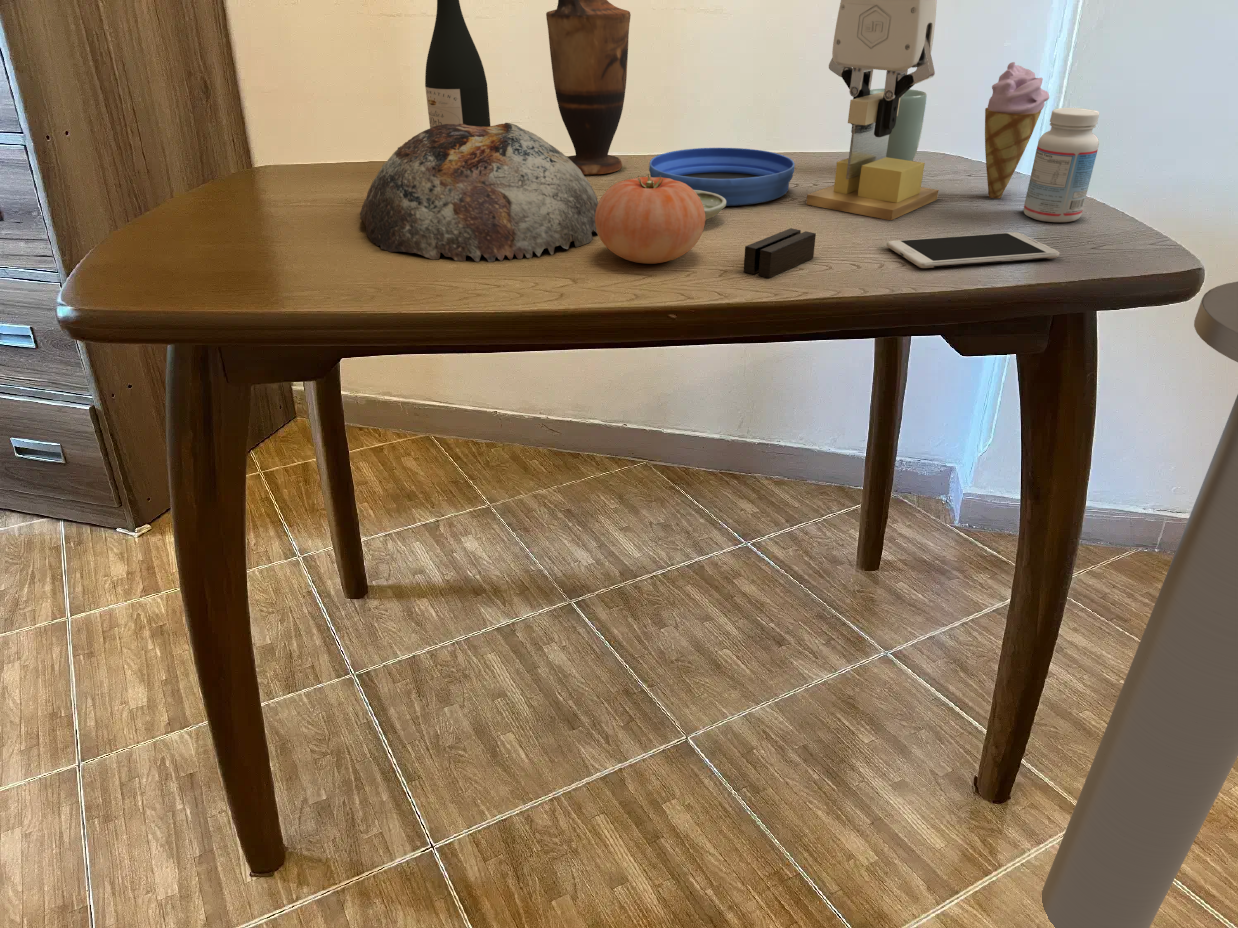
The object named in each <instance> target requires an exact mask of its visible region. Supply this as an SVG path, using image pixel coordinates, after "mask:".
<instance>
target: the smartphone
mask: <svg viewBox="0 0 1238 928" xmlns="http://www.w3.org/2000/svg"><path fill="white" fill-rule="evenodd" d="M886 247H887V248H889V249H890V250H891V251H894V252H895V253H896V254H898V255H899V256H901V257H903V258H904V259H906V260H907V261H909V262H911V263H912V264H914V265H916V267H918V268H920V269H933V268H946V267H959V266H960V267H961V266H971V265H986V264H998V263H1000V264H1001V263H1011V262H1012V263H1013V262H1023V261H1024V262H1025V261H1037V260H1038V261H1039V260H1050V259H1051V260H1052V259H1057V258H1058V257H1059V256H1060V252H1059V250H1056V249H1055V248H1052V247H1050V246H1048V245H1046V244H1044V243H1042V242H1039V241H1038V240H1035V239H1033V238H1031V237H1029V236H1027V235H1025V234H1023V233H1021V232H1016V231H1013V232H1010V231H1009V232H998V233H985V234H984V233H983V234H970V235H969V234H968V235H956V236H944V237H943V236H940V237H926V238H913V239H911V238H910V239H899V240H898V239H897V240H889V241H887V243H886Z"/></svg>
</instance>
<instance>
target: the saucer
mask: <svg viewBox="0 0 1238 928" xmlns="http://www.w3.org/2000/svg"><path fill="white" fill-rule="evenodd" d="M694 191H695V192H696V194H697V195H698V196H699V198H700V200H701V202H702V204H703V207H704V211H705V221H707V220H709V219H712V218H714V217H715V216H716V215H718V214H719V213H720V212H721V211H722V210H723V209H725V208H726V207H727V206H726V200H725V198H724V197H722V196H720V195H718V194H715V193H711V192H706V191H700V190H694Z"/></svg>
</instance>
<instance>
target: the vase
mask: <svg viewBox="0 0 1238 928" xmlns="http://www.w3.org/2000/svg"><path fill="white" fill-rule="evenodd" d="M545 19H546V24H547V34H548V43H549V53H550V55H549V56H550V62H551V72H552V80H553V87H554V91H555V97H556V98H555V99H556V102H557V106H558V110H559V114H560V116H561V120H562V121H563V124H564V127H565V129H566V131H567V133H568V137H569V139H570V140H571V143H572V145H573V149H574V152H575V155H570V156H567V157H568V158H569V159H570V160H571V161H572V162H573V163H574V164H575V165H576V166H577V167H578V168H579V169H580V170H581V172H582V173H583V175H584V176H585V175H586V176H587V175H604V174H605V175H606V174H611V173H615V172H618V171H619V170H622V167H623V164H622V160H621V158H620V157H617V156H615V155H611V154H609V151H610V149H611V146H612V143H613V139H614V137H615V135H616V132H617V130H618V127H619V123H620V121H621V118H622V114H623V111H624V102H625V96H626V89H627V79H628V78H627V76H628V56H629V40H630V39H629V34H630V23H631V11H629V10H627V9H624V8H620V7H617V6H616V5H614V4H613V3H611V2H610V1H609V0H557V6H556V9H553V10H549V11H546V12H545Z"/></svg>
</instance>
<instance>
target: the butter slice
mask: <svg viewBox="0 0 1238 928" xmlns="http://www.w3.org/2000/svg"><path fill="white" fill-rule="evenodd" d="M848 160H849V157H848V158H845V159H842V160H841V159H840V160H838V161H837V162H836V167H835V176H834V183H833V185H834V192H837V193H843V194H848V193H851V192H853V191H856V190H858V189H859V182H860V176H857V177H854V178H851V179H849V180H847V179H846V176H847V168H848Z"/></svg>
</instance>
